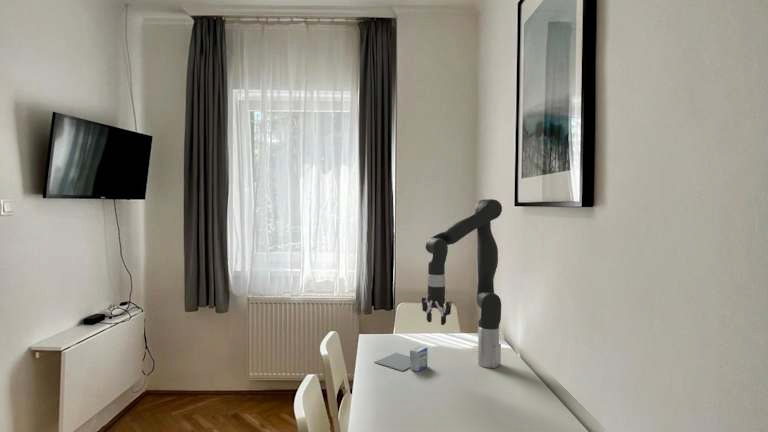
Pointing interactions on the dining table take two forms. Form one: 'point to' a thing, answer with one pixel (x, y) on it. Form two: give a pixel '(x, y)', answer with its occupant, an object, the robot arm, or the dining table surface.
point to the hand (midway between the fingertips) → (436, 323)
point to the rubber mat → (396, 362)
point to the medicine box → (418, 358)
